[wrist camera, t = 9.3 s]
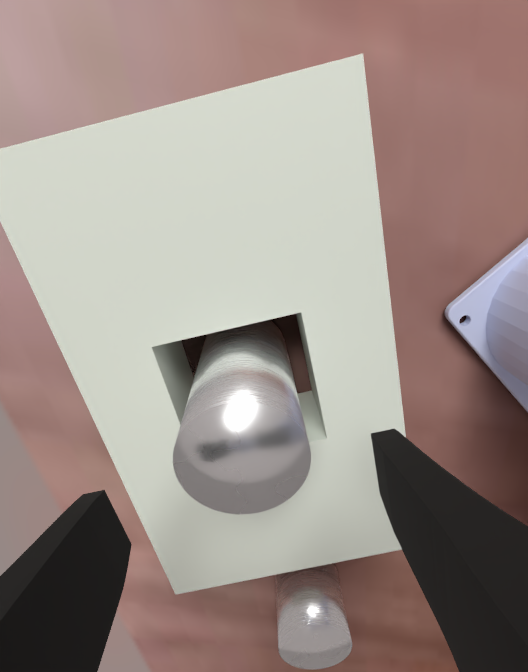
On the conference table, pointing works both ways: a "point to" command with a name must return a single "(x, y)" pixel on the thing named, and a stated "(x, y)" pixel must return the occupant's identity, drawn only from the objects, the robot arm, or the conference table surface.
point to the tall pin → (243, 424)
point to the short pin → (311, 618)
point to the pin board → (221, 298)
